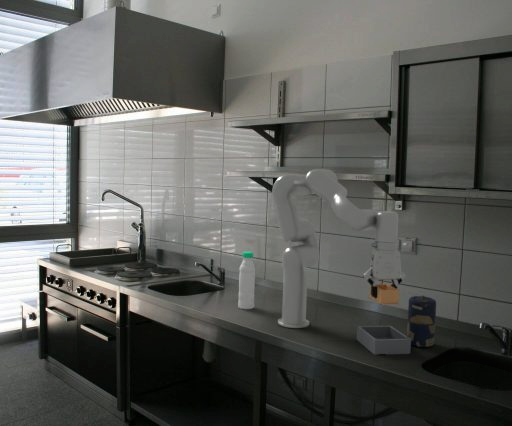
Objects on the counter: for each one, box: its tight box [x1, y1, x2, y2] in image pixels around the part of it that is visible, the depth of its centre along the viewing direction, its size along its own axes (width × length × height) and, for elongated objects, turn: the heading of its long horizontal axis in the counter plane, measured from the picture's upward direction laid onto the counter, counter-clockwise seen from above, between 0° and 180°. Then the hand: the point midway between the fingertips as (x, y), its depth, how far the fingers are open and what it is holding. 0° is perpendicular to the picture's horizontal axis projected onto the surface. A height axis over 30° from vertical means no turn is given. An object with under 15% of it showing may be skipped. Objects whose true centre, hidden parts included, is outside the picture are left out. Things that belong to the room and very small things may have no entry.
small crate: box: [368, 283, 400, 306], centre depth 181 cm, size 10×6×5 cm, turn 10°
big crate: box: [356, 325, 412, 356], centre depth 182 cm, size 16×13×5 cm
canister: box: [406, 295, 437, 348], centre depth 186 cm, size 10×10×18 cm
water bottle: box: [237, 251, 256, 310], centre depth 228 cm, size 7×7×25 cm
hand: (383, 296), depth 181 cm, fingers closed on small crate, 6 cm apart
